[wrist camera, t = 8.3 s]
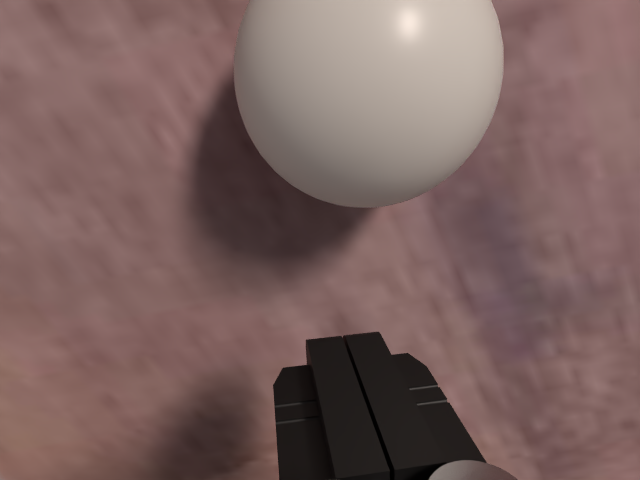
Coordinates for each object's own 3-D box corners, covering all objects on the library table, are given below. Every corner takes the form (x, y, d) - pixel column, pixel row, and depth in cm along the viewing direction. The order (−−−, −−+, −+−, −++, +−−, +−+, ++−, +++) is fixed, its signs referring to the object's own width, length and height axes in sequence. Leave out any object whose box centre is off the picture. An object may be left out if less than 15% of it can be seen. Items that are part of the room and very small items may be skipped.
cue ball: (594, 153, 10) (495, -26, 12) (443, -10, 6) (345, -224, 8) (377, 267, 13) (336, 109, 16) (187, 218, 9) (176, 16, 12)
